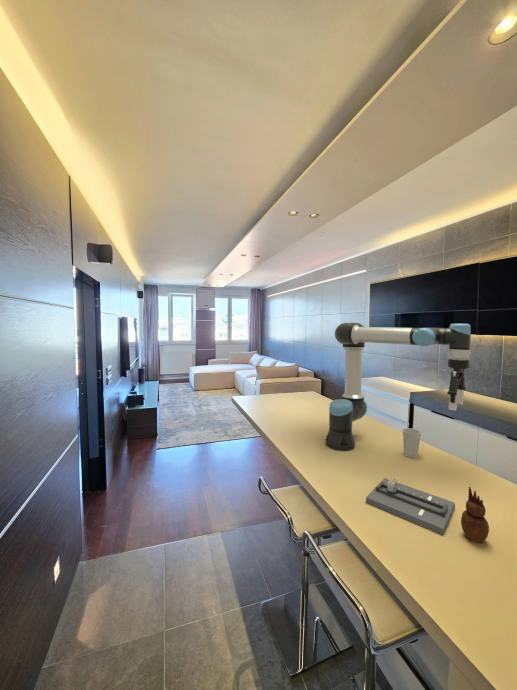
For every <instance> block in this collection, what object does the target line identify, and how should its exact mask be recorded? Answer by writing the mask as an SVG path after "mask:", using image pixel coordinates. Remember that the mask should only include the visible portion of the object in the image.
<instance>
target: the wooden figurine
mask: <svg viewBox="0 0 517 690" xmlns="http://www.w3.org/2000/svg"><path fill="white" fill-rule="evenodd" d="M467 497H468V499H467V500H466V502H465V510H463V511H462V513H461V518H460V524H461V525H460V526H461V529H462V531H463V533H464V535H465V537H466V538H468V539H469V540H471V542H472V541H473V542H475V543H478V544H479V543H483V542H485V541H486V540H487V539H488V536H489V532H490V526H489V525H490V524H489V522H488V521H487V520H488V519H486V517H485V516H486V512H487V511H486V507H485V505H484V501H483V499H480V495H477V491H476V490H474V492H472V488H471V486H468V496H467Z"/></svg>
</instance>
